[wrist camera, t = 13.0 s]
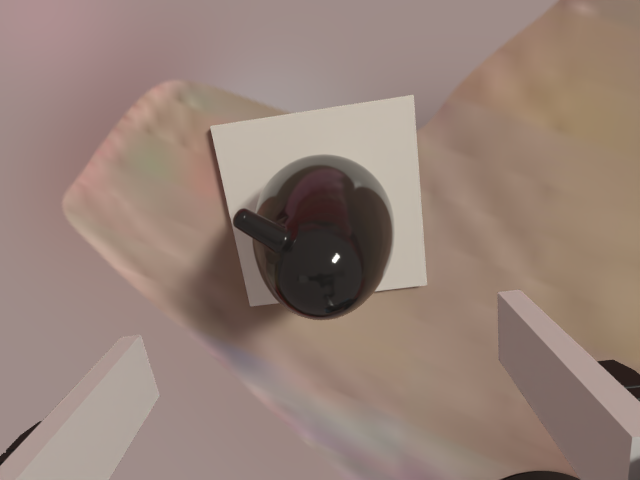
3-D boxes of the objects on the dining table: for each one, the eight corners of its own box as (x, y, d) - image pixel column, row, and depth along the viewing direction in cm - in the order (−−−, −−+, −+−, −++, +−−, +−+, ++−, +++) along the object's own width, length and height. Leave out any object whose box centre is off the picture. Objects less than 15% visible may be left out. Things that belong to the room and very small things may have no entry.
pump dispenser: (312, 120, 31) (297, 130, 17) (410, 202, 33) (472, 275, 19) (237, 218, 34) (169, 298, 20) (332, 289, 36) (334, 411, 21)
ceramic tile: (424, 281, 36) (426, 285, 36) (251, 302, 37) (250, 306, 37) (411, 95, 31) (413, 94, 31) (212, 125, 32) (210, 126, 32)
